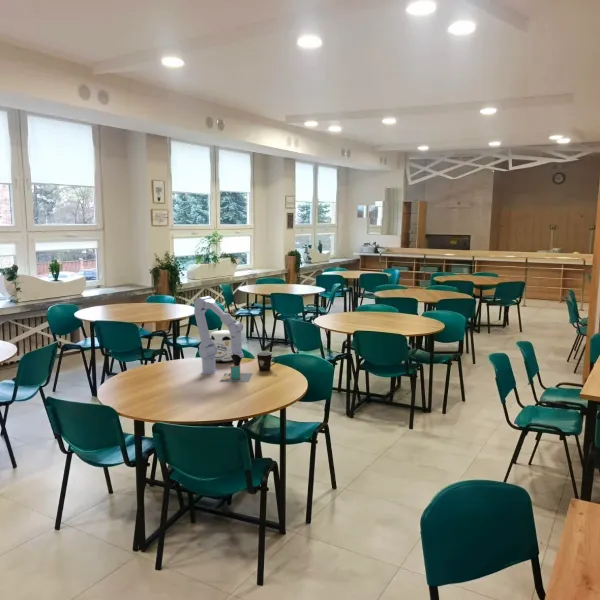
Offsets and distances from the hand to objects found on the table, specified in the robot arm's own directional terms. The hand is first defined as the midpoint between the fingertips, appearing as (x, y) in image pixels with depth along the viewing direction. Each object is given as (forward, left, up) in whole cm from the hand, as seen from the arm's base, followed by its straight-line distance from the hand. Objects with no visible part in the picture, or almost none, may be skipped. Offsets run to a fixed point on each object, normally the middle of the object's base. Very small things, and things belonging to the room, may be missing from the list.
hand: (237, 367), depth 306 cm
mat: (+3, 0, -5) cm, 6 cm away
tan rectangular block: (+5, 0, -5) cm, 7 cm away
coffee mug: (-12, +15, -5) cm, 20 cm away
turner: (+2, -6, -5) cm, 8 cm away
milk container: (-37, -14, -6) cm, 40 cm away
